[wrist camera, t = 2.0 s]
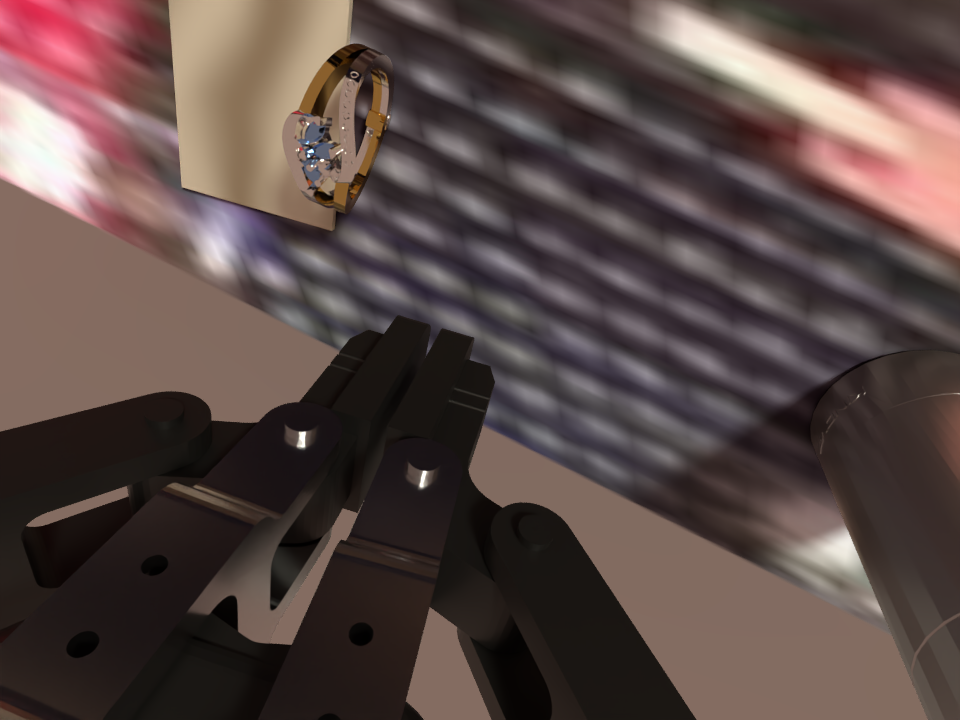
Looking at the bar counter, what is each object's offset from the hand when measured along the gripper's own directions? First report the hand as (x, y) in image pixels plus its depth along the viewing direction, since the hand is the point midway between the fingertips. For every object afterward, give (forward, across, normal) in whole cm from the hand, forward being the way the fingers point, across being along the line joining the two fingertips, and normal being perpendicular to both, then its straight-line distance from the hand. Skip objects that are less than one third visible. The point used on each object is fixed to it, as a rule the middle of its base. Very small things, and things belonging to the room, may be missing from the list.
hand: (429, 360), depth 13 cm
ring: (+19, +8, 0) cm, 21 cm away
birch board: (+19, +14, 0) cm, 24 cm away
